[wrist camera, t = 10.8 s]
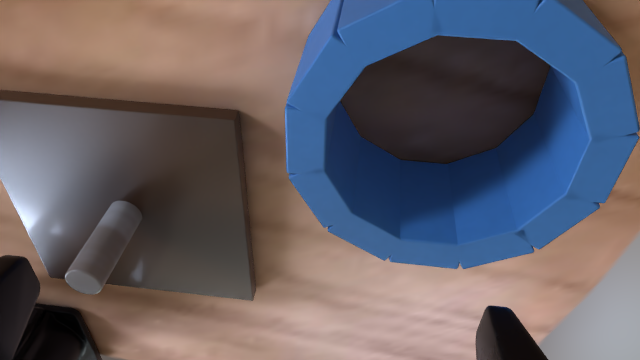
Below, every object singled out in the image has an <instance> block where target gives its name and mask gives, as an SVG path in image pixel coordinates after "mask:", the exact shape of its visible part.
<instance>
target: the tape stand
mask: <svg viewBox="0 0 640 360" xmlns="http://www.w3.org/2000/svg"><path fill="white" fill-rule="evenodd" d="M0 179H1V180H2V182H3V184H4V186H5V188H6V190H7V192H8V194H9V196H10V198H11V200H12V202H13V204H14V206H15V208H16V210H17V212H18V214H19V216H20V218H21V220H22V222H23V224H24V226H25V228H26V230H27V232H28V234H29V236H30V238H31V240H32V242H33V244H34V246H35V248H36V250H37V252H38V254H39V256H40V258H41V260H42V262H43V264H44V266H45V268H46V270H47V272H48V274H49V276H50V277H51V278H60V279H65V280H66V282H67V283H68V285H69V286H70V287H72V288H73V289H75V290H76V291H79V292H81V293H85V294H96V293H98V292H100V291H101V290H102V288H103V286H104V285H105V284H112V285H121V286H129V287H138V288H147V289H155V290H164V291H173V292H181V293H190V294H199V295H207V296H216V297H225V298H233V299H242V300H251V301H253V299H254V295H255V292H256V285H255V274H254V264H253V253H252V243H251V232H250V221H249V211H248V200H247V190H246V179H245V168H244V158H243V147H242V136H241V126H240V115H239V111H238V110H228V109H216V108H204V107H192V106H181V105H169V104H157V103H145V102H134V101H122V100H110V99H98V98H87V97H75V96H63V95H51V94H40V93H28V92H16V91H4V90H0Z"/></svg>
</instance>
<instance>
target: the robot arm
mask: <svg viewBox="0 0 640 360" xmlns="http://www.w3.org/2000/svg"><path fill="white" fill-rule="evenodd" d="M39 292H40V283H39V280H38V278H37V276H36V274H35V272H34V271H33V269H32V267H31V265H30V263H29V261H28V260H27V259H26V258H25V257H20V256H11V255H5V256H2V257H0V360H102V358H101V356H100V354H99V352H98V350H97V348H96V346H95V344H94V342H93V339H92V337H91V335H90V333H89V331H88V329H87V327H86V325H85V323H84V321H83V319H82V316H81V314H80V313H79V311H77V310H76V309H73V308H68V307H60V306H51V305H43V304H35V303H36V301H37V298H38V296H39ZM476 358H477V360H548V359H547V357H546V356H545V355H544V353H543V352H542V350H541V349H540V348H539V346H538V345H537V344H536V342H535V341H534V340H533V338H532V337H531V335H530V334H529V333H528V331H527V330H526V329H525V327H524V326H523V325H522V323H521V322H520V320H519V319H518V318H517V316H516V315H515V314H514V312H513V311H512V310H511V309H509V308H507V307H500V306H488V307H487V308H486V309H485V311H484V314H483V316H482V319H481V321H480V324H479V327H478V329H477V333H476Z"/></svg>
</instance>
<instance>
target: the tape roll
mask: <svg viewBox="0 0 640 360" xmlns="http://www.w3.org/2000/svg"><path fill="white" fill-rule="evenodd" d="M437 35H440V36H454V37H469V38H483V39H497V40H511V41H517V42H519V43H520V44H521V45H523V46H524V47H525V48H527V49H528V50H530V51H531V52H532V53H534V54H535V55H537V56H538V57H539V58H541V59H542V60H544V61H545V62H546V63H548V64H549V65H551V66H550V69H549V72H548V75H547V78H546V80H545V83H544V86H543V89H542V92H541V95H540V98H539V101H538V103H537V106H536V109H535V112H534V114H533V115H532V116H531V117H530V118H529V119H528V120H527V121H525V122H524V123H523V124H522V125H521V126H520V127H519V128H518V129H517V130H516V131H514V132H513V133H512V134H511V135H510V136H509V137H508V138H507V139H506V140H504V141H503V142H502V143H501V144H500V145H499V146H498V147H497V148H494V149H491V150H488V151H485V152H482V153H479V154H476V155H473V156H470V157H467V158H464V159H461V160H458V161H455V162H451V163H448V164H441V163H429V162H418V161H407V160H400V159H398V158H396V157H395V156H393V155H391V154H390V153H388V152H386V151H385V150H383V149H381V148H379V147H378V146H376V145H374V144H373V143H371V142H369V141H368V140H366V139H364V138H362V137H361V136H360V135H359V133H358V131H357V130H356V128H355V126H354V124H353V123H352V121H351V119H350V117H349V116H348V114H347V112H346V110H345V109H344V107H343V105H342V103H341V102H340V100H341V99H342V98H343V96H344V95H345V94H346V92H347V91H348V90H349V88H350V87H351V86H352V84H353V83H354V82H355V80H356V79H357V78H358V76H359V75H360V74H361V72H362V71H363V70H364V68H365V67H366V66H368V65H370V64H372V63H375V62H377V61H379V60H381V59H384V58H386V57H388V56H391V55H393V54H395V53H398V52H400V51H402V50H405V49H407V48H409V47H412V46H414V45H416V44H418V43H421V42H423V41H425V40H428V39H430V38H432V37H435V36H437ZM639 129H640V127H639V122H638V117H637V111H636V106H635V101H634V95H633V90H632V85H631V80H630V74H629V69H628V64H627V59H626V56H625V55H624V54H623V52H622V49H621V47H620V46H619V45H618V44H617V42H616V41H615V40H614V39H613V37H612V36H611V35H610V34H609V33H608V31H607V30H606V29H605V28H604V26H603V25H602V24H601V23H600V21H599V20H598V19H597V18H596V16H595V15H594V14H593V13H592V11H591V10H590V9H589V8H588V6H587V5H586V4H585V3H584V1H583V0H331V1H330V3H329V4H328V6H327V8H326V9H325V11H324V12H323V14H322V15H321V17H320V19H319V20H318V22H317V23H316V25H315V26H314V28H313V30H312V31H311V33H310V34H309V36H308V39H307V42H306V45H305V48H304V51H303V54H302V57H301V60H300V63H299V66H298V69H297V72H296V75H295V78H294V81H293V84H292V87H291V90H290V93H289V96H288V99H287V104H286V107H285V133H286V170H287V173H290V174H289V179H290V181H291V182H292V184H293V185H294V186H295V188H296V189H297V191H298V192H299V193H300V195H301V196H302V198H303V199H304V201H305V202H306V203H307V205H308V206H309V208H310V209H311V210H312V212H313V213H314V215H315V216H316V217H317V219H318V220H319V222H320V223H321V224H322V226H323V227H324V228H325V227H328V232H330V233H332V234H334V235H336V236H338V237H340V238H342V239H344V240H346V241H348V242H349V243H351V244H353V245H355V246H357V247H359V248H361V249H363V250H365V251H367V252H369V253H371V254H372V255H374V256H376V257H378V258H380V259H382V260H386V259H387V258H388V257H389V260H390V262H396V263H406V264H415V265H425V266H434V267H443V268H453V269H457V268H458V266H459V263H460V265H461V266H462V268H463V269H466V268H470V267H474V266H479V265H483V264H487V263H491V262H495V261H500V260H504V259H508V258H512V257H516V256H521V255H525V254H529V253H533V252H534V249H533V246H534V247H535V248H537V249H541V248H542V247H544V246H545V245H547V244H548V243H550V242H551V241H552V240H554V239H555V238H557V237H558V236H560V235H561V234H563V233H564V232H566V231H567V230H568V229H570V228H571V227H573V226H574V225H576V224H577V223H579V222H580V221H581V220H583V219H584V218H586V217H587V216H589V215H590V214H592V213H593V212H594V211H596V210H597V209H599V208H600V205H599V203H605V202H606V200H607V198H608V196H609V194H610V192H611V190H612V188H613V187H614V185H615V183H616V181H617V179H618V177H619V175H620V173H621V171H622V169H623V168H624V166H625V164H626V162H627V160H628V158H629V156H630V154H631V152H632V150H633V149H634V147H635V145H636V143H637V141H638V139H639V136H638V134H637V133H636V132H638V131H639Z"/></svg>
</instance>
